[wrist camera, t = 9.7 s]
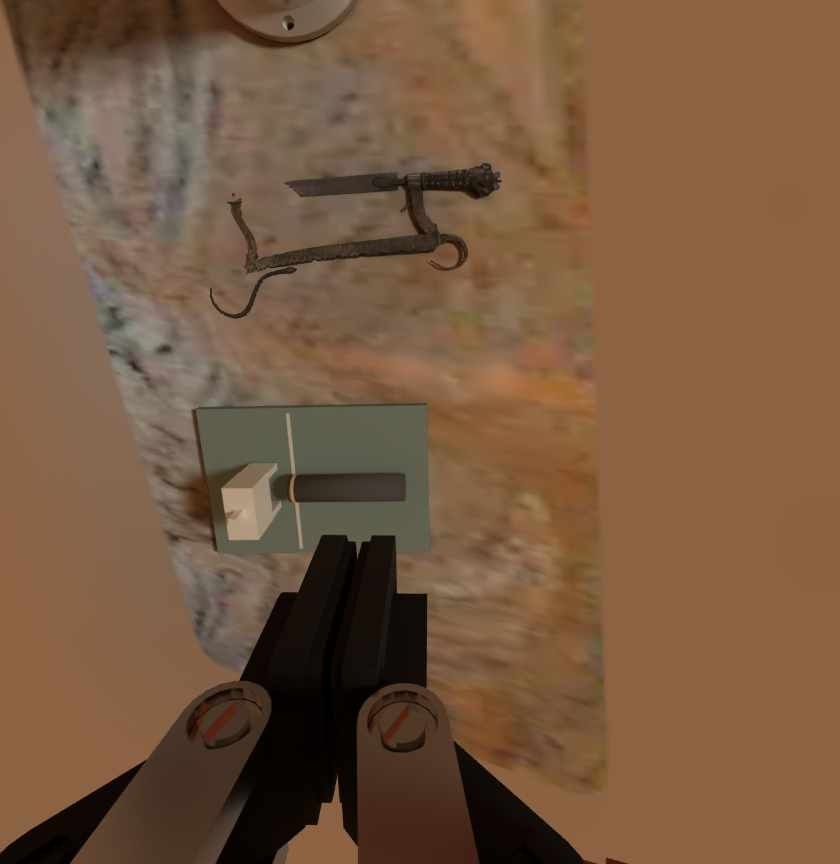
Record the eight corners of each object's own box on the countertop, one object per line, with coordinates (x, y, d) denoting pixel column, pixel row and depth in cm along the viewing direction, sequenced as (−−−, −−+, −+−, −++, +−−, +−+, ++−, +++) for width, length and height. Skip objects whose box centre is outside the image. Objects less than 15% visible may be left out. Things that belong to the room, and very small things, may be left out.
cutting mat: (199, 407, 43) (195, 409, 42) (426, 403, 42) (426, 405, 41) (221, 549, 47) (217, 553, 46) (429, 547, 46) (429, 552, 45)
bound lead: (293, 470, 44) (285, 480, 41) (405, 468, 43) (403, 479, 41) (296, 496, 44) (288, 507, 42) (406, 495, 44) (404, 506, 42)
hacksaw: (499, 164, 37) (502, 159, 36) (501, 303, 40) (503, 303, 39) (192, 186, 38) (183, 182, 37) (215, 319, 41) (207, 320, 40)
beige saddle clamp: (249, 462, 43) (212, 497, 36) (276, 461, 43) (244, 496, 36) (255, 507, 44) (220, 550, 37) (281, 507, 44) (251, 550, 37)
